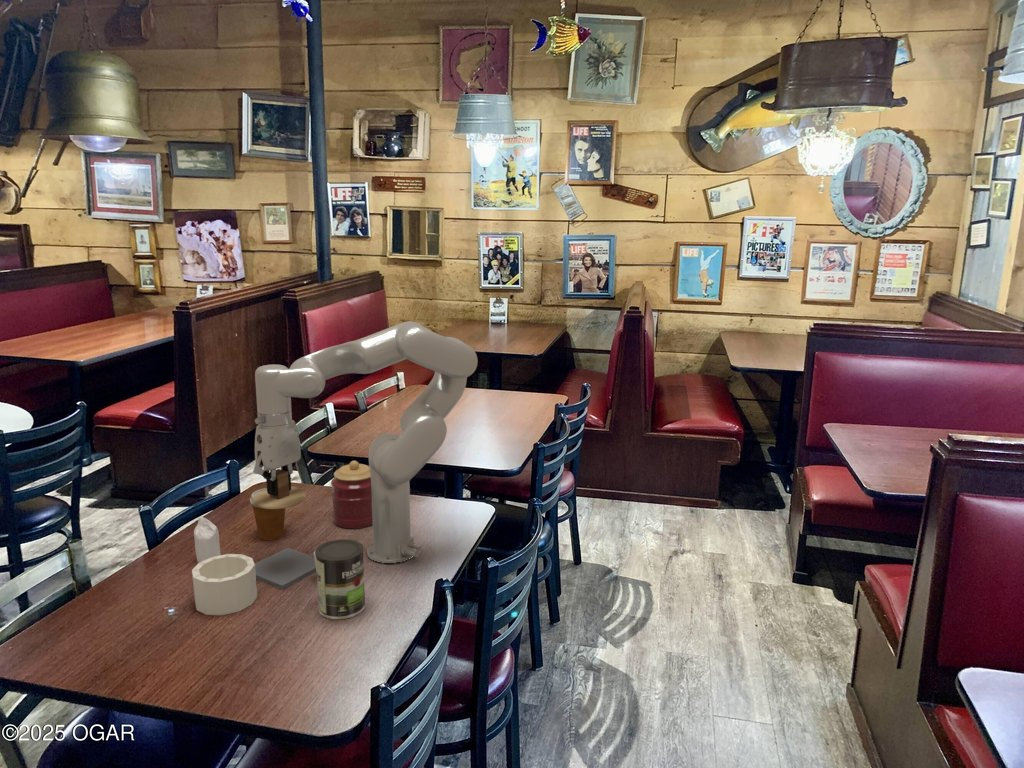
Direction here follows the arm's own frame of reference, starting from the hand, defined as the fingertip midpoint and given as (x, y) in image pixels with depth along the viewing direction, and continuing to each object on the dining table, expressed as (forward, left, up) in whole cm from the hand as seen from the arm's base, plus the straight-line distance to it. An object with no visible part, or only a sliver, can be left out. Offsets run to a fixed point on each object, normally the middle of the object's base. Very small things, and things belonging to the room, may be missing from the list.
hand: (279, 491), depth 176 cm
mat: (0, 0, -20) cm, 20 cm away
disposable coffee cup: (+18, -11, -21) cm, 29 cm away
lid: (0, 0, -2) cm, 2 cm away
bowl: (0, +17, -20) cm, 27 cm away
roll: (+20, +7, -21) cm, 29 cm away
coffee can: (-24, +5, -21) cm, 32 cm away
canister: (+6, -31, -21) cm, 38 cm away
